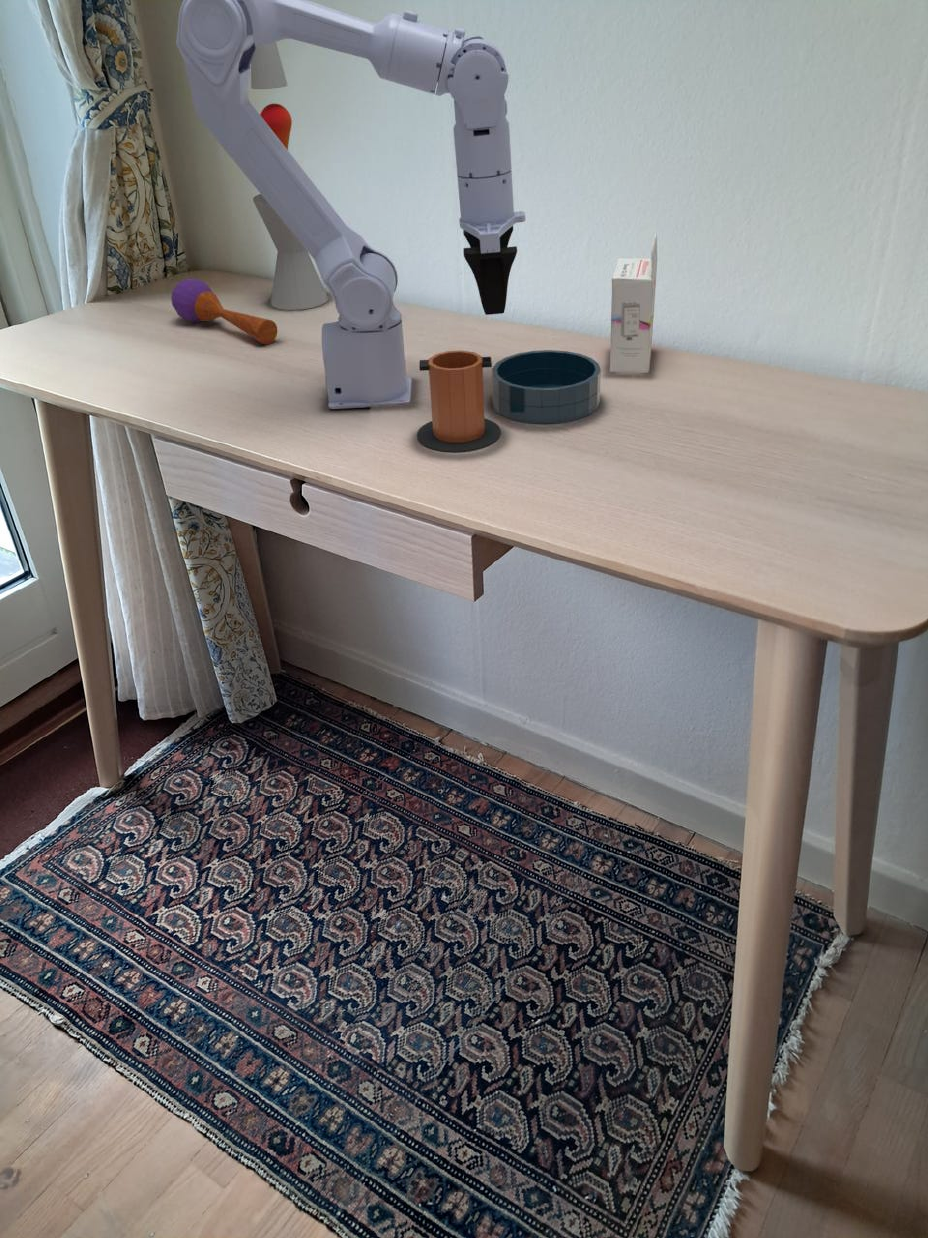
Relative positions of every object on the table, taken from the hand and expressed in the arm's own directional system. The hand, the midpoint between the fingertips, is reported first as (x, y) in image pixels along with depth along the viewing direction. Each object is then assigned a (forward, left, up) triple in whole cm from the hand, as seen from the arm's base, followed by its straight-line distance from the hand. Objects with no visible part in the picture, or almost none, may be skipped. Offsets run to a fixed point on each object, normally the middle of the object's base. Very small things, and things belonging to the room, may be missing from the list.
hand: (493, 302), depth 111 cm
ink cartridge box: (+17, +6, -11) cm, 21 cm away
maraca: (-37, +27, -11) cm, 47 cm away
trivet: (-5, -13, -10) cm, 17 cm away
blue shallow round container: (+5, -6, -10) cm, 13 cm away
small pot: (-5, -13, -10) cm, 17 cm away
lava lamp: (-28, +39, -11) cm, 50 cm away
